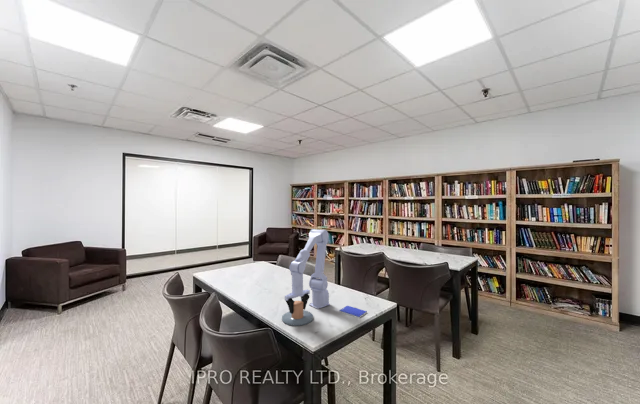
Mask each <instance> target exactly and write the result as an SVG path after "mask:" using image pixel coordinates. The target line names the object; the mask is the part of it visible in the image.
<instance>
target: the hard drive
mask: <svg viewBox="0 0 640 404" xmlns="http://www.w3.org/2000/svg"><path fill="white" fill-rule="evenodd" d="M339 313H342V314H345V315H348V316H350V317H355V318H358V319H360V318H362V317H363V316H365V315H366V314H367V313H368V312H367V310H365V309H364V310H363V309H360V308H358V307H354V306H350V305H346V306H344V307H343V308H341V309H339ZM361 316H362V317H361Z"/></svg>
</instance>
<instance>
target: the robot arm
mask: <svg viewBox="0 0 640 404" xmlns="http://www.w3.org/2000/svg"><path fill="white" fill-rule="evenodd" d="M329 234H330V233H329V232H328V230H326V229H315V228H311V229H310V230H309V233H308V239H307V242H306V243H305V245H304V248H303V249H301V250H300V251H299V253H298V254H297V256H296V258H295V259H294V260H293V261H291V262H290V264H289V267H288V269H289V272H290V275H291V292H290V293H288V294H286V295H284V301H285V302H286V304H287V307H288V310H289V311H288V312H290V313H291V314H293V306H294V302H295V301H296V300H293V299H295V298H298V297H300V301H302V302H303V310H304V311H306V307H307V304H308V301H309V300H310V294H311V296H312V297H311V298H312V301H311V303H309V304H308V305H309V306H311V307H312V308H315V309H317V310H319V309H321V308H324V307H327V306H330V305H331V304H330V301H329V300H330V299H329V298H330V293H329V290H328V289H327V288H328V286H329V285H328V284H329V283H328V276H327V275H326V274H324V273H325V272H324V271H325V264H326V263H325V260H326V251H327V245H328V244H329ZM315 245H316V246H317V249H316V256H315V266H314V273H312V274H311V275H310V279H309V281H308V287H309V288H310V289H304V272H305V270H306V266H307V261H308V260H309V258H310V256H311V253H310V252H311V251H312V249H313V248H314V246H315Z"/></svg>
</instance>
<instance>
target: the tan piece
mask: <svg viewBox="0 0 640 404" xmlns="http://www.w3.org/2000/svg"><path fill="white" fill-rule="evenodd" d="M294 301H295V302H294V306H293V314H292V318H293V319H301V318H303V316H304V311H305V310H304V309H303V302H302V301H301V300H294Z"/></svg>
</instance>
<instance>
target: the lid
mask: <svg viewBox="0 0 640 404" xmlns="http://www.w3.org/2000/svg"><path fill="white" fill-rule="evenodd" d="M281 320H282V321H281V322H282V323H284V324H285V325H288V326H293V327H294V326H295V327H299V326H301V327H302V326H306V325H308V324H310V323H312V322H313V320H314V315H313V313H312V312H310V311H308V310H304V316H303V318H301V319H293V318H292V314H291V313H290V311H287V312H285V313H284V314H283V315H282V317H281Z"/></svg>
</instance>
